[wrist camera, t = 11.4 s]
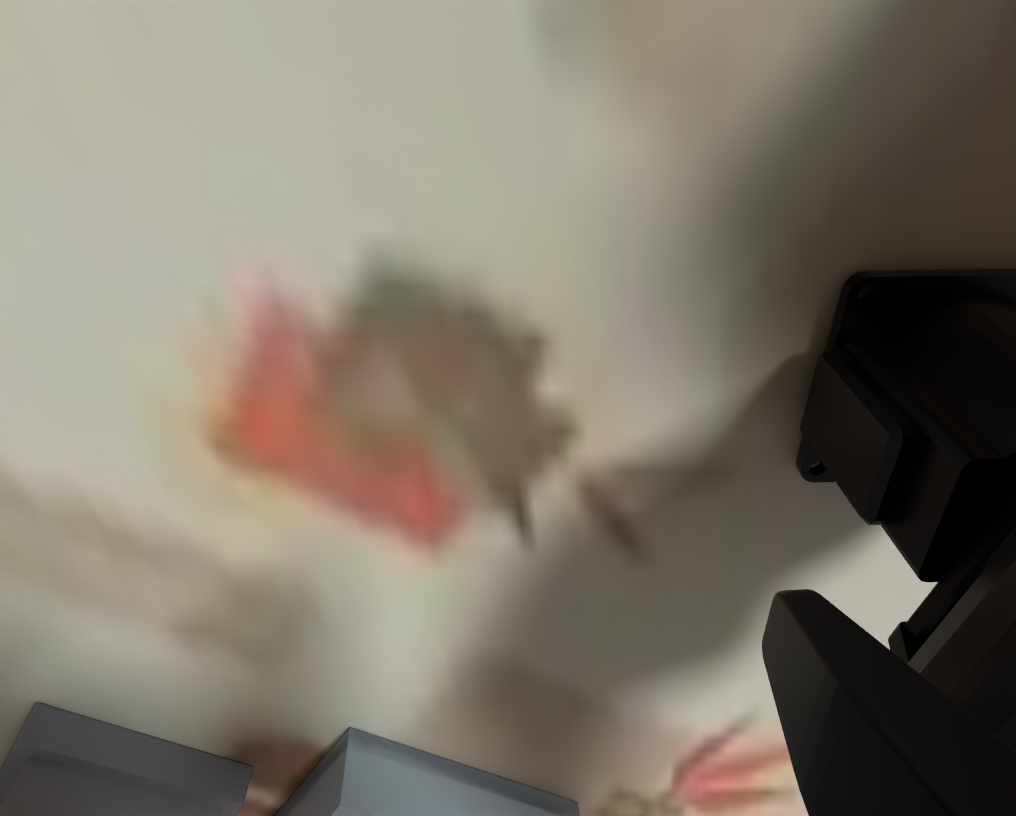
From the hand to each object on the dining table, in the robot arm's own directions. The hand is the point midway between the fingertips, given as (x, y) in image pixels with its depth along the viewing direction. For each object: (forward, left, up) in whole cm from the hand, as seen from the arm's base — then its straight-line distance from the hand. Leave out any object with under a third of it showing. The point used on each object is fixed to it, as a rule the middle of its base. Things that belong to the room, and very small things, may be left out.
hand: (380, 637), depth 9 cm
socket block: (+13, +22, -12) cm, 28 cm away
